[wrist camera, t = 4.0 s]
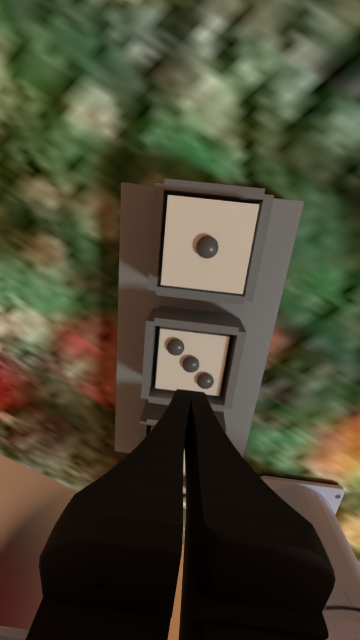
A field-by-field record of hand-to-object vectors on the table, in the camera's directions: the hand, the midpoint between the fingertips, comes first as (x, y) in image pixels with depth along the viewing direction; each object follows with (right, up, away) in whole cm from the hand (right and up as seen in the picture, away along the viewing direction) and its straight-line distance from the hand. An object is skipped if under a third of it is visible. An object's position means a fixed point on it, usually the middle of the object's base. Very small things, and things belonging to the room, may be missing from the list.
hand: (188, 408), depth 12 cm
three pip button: (0, +2, +7) cm, 7 cm away
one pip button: (+1, +8, +3) cm, 9 cm away
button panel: (+1, +2, +9) cm, 10 cm away
